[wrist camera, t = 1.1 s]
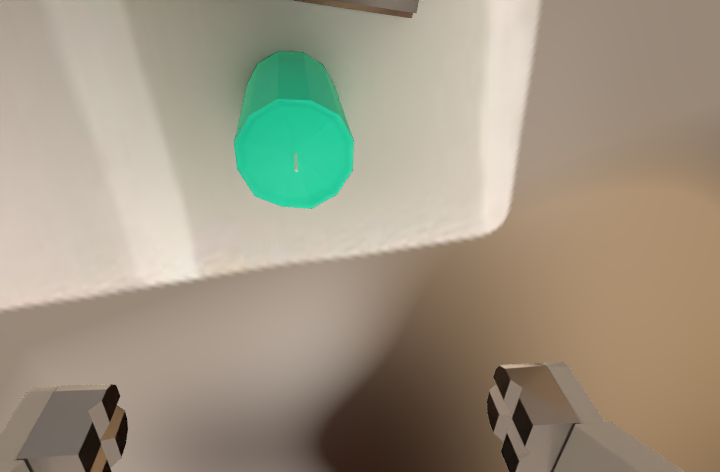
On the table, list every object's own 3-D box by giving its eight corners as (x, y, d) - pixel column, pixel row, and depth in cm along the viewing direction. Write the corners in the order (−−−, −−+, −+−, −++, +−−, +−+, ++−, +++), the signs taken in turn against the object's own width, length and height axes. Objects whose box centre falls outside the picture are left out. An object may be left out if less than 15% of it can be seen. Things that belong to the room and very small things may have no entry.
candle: (256, 37, 30) (243, 90, 20) (346, 65, 31) (376, 127, 21) (238, 126, 32) (220, 212, 23) (322, 147, 34) (339, 235, 24)
